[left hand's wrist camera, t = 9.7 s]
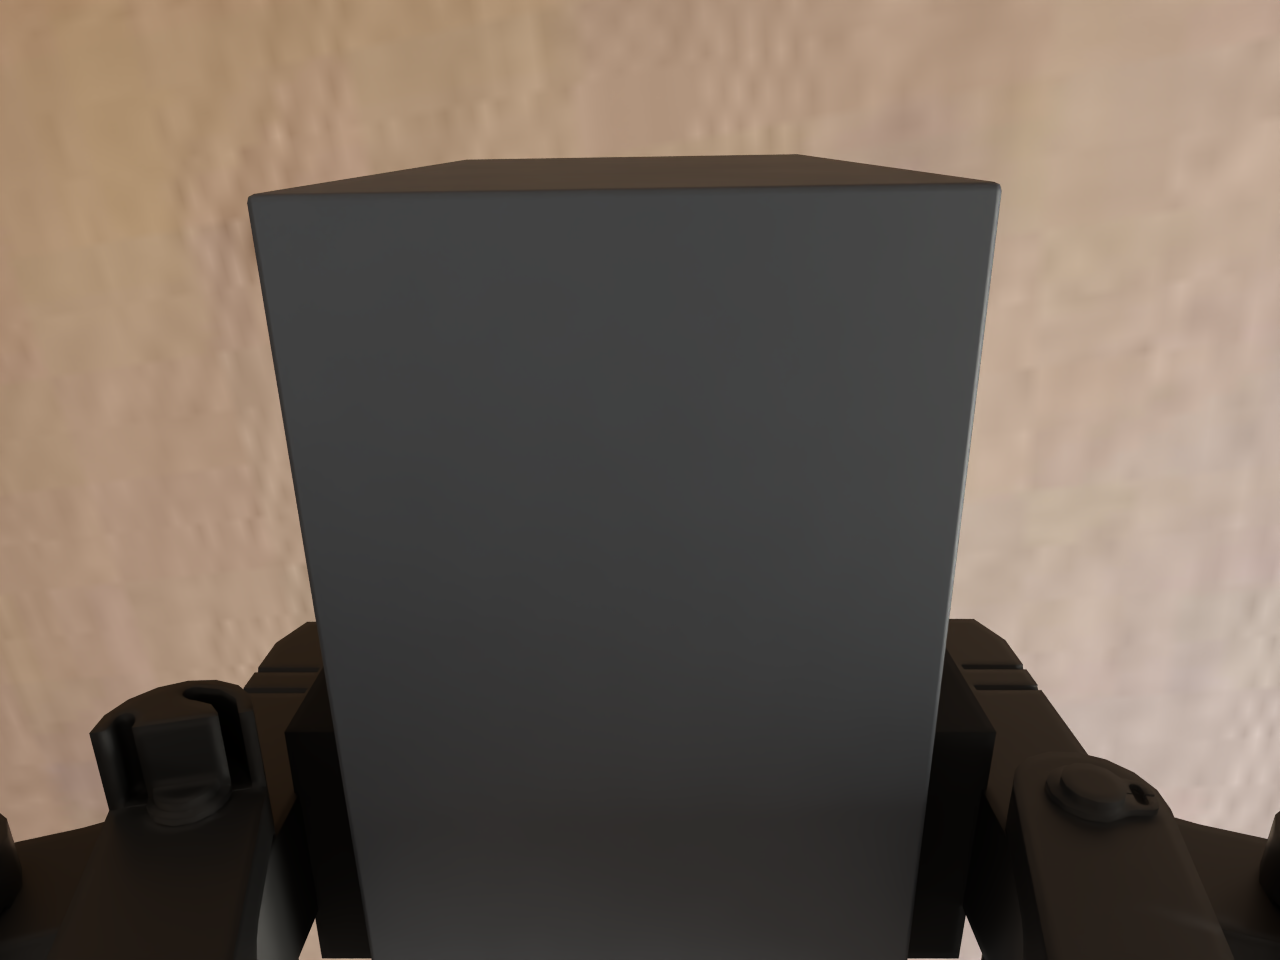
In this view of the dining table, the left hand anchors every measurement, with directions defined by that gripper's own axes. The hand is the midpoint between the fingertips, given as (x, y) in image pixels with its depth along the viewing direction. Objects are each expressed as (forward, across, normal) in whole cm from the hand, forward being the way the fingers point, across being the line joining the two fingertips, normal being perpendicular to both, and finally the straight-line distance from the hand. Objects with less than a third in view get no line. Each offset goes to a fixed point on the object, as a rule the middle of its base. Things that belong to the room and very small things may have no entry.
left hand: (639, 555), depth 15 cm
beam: (+1, 0, -25) cm, 25 cm away
